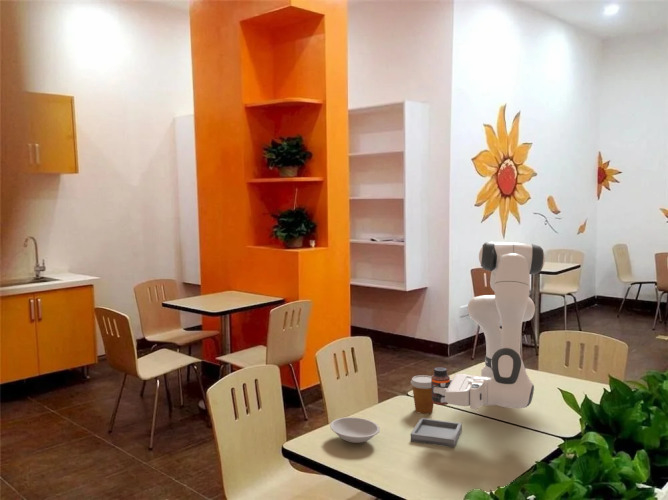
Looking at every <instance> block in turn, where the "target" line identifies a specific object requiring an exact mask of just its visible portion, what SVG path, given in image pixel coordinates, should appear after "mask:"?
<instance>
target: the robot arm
mask: <svg viewBox="0 0 668 500" xmlns="http://www.w3.org/2000/svg"><path fill="white" fill-rule="evenodd" d="M478 262H479V263H480V267H481V268H482V269H483V270H485V271H488V272H491V273H490V281H489V284H490V285H489V286H490V288H491V289H492V291H493V292H494V294H483V295H478V296H473V297H471V299H470V300H469V301H468V302H467V314H468V316H469V318H470V319H471V320H472V321H473V322H474V323H476V324H477V325H478V326H479V327H480V328H481V330H482V332H483V334H484V337H485V346H486V351H485V353H486V355H485V356H484V357H485V358H484V367H482V369H481V371H480V372H481V373H480V375H473V374H469V373H456V374H455V375H454V376H453V377H452V378H450V385H449V386H448V388H440V387H439V386H435V387H434V393H439V394H441V395H443V396H445V402H447V403H449V404H448V405H453V406H459V407H460V406H461V407H469V408H470V409H473V410H477V409H479V408H480V407H485V406H489V407H490V406H498V407H502V408H509V409H525V408H527V407H529V406H530V405H531V404H532V401H533V397H534V391H535V385H534V383H533V382H532V381H531V379H530V377H529V375H528V373H527V370H526V365H525V362H524V361H523V358H522V351H521V350H522V349H521V347H522V341H521V340H522V327H523V322H527V321H528V322H529V321H531V320H532V319H533V317H534V316H535V314H536V313H535V311H536V306H535V303H534V301H533V300H532V298H531V297H529V296H530V284H531V283H530V282H531V281H530V280H531V279H530V276H531V275H536V274H539V273H540V272H541V271H542V270H543V268H544V266H545V262H546V256H545V253H544V249H543V248H542V247H541V246H540V245H538V244H537V245H536V244H533V243H532V244H528V243H523V242H517V241H515V242H514V241H512V242H509V241H486V242H484V243H483V244H482V246H481V248H480V251H479V253H478ZM500 324H501V325H500Z"/></svg>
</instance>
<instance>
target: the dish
mask: <svg viewBox="0 0 668 500" xmlns="http://www.w3.org/2000/svg"><path fill="white" fill-rule="evenodd" d="M329 427H330V430H332V431H333V432H334V433H335V435H337V436H338V437H339V438H341V439H342V440H344V441H346V442H348V443H349V442H350V443H358V444H361V443H365V442H368V441H370V440H372V438H374V436H376V435H378V434H379V433H380V429H381V428H380V426H379V424H377V423H376V422H374V421H372V420H370V419H367V418H364V417H363V418H362V417H354V416H347V417H346V416H345V417H344V416H343V417H340V418H336V419H334V420H333V421H331V422H330V424H329Z"/></svg>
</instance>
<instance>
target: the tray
mask: <svg viewBox="0 0 668 500" xmlns="http://www.w3.org/2000/svg"><path fill="white" fill-rule="evenodd" d="M462 426H463V423H462V422H457V421H450V420H442V419H434V418H433V419H432V418H426V417H420V418H419V420H418V421H417V424H416V425H415V426H414V428H413V430H411V432H410V442H413V443H420V444H426V445H432V446H433V445H434V446H439V447H448V448H455V447H456V444H457V442H458V440H459V438H460V436H461V434H462V430H463V427H462Z"/></svg>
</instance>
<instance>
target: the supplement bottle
mask: <svg viewBox="0 0 668 500" xmlns="http://www.w3.org/2000/svg"><path fill="white" fill-rule="evenodd" d="M447 372H448V370H447V368H445V367H434V369H433V374H432V375H431V376H432V377H431V389H432V402H433V403H434V405H436V406H437V405H438V406H447V405H450V404H449V403H447V402H445V396H443V395H441V394H439V393H434V387H435V386H439V387H440V388H448V386H449V385H450V379H451V378H450V375H448V373H447Z"/></svg>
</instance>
